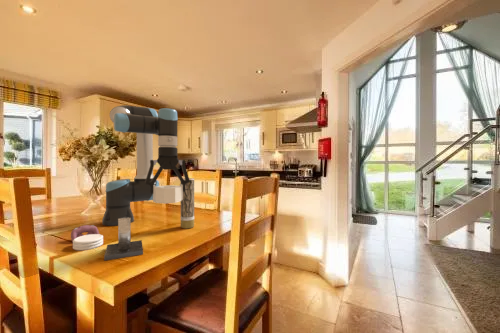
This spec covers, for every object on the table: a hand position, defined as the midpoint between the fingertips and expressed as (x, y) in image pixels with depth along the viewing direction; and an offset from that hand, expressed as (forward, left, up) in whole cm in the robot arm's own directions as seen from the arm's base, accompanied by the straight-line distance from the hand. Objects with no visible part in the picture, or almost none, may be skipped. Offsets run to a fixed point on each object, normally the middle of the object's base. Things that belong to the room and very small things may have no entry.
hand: (168, 200), depth 97 cm
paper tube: (-19, +12, -18) cm, 29 cm away
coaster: (-10, -29, -18) cm, 36 cm away
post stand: (+3, -16, -18) cm, 24 cm away
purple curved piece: (-20, -31, -18) cm, 41 cm away
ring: (0, 0, 0) cm, 0 cm away
